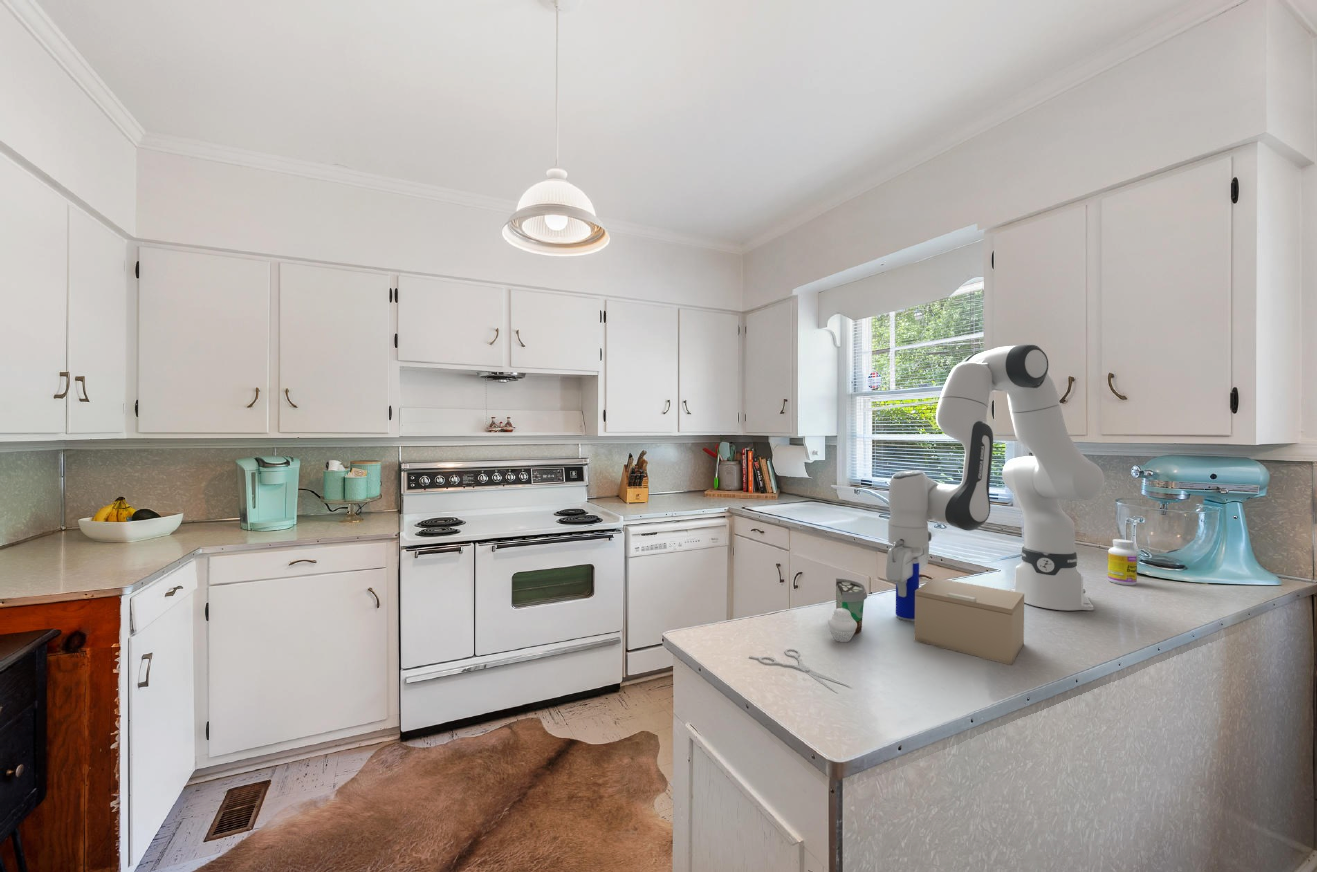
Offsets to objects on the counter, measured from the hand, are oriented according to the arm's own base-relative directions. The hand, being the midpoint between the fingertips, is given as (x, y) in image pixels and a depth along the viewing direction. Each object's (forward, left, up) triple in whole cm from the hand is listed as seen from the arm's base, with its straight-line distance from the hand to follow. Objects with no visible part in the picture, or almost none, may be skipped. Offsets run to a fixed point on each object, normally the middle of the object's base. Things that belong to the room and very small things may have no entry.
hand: (907, 592), depth 133 cm
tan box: (+7, +15, -6) cm, 18 cm away
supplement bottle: (-76, +38, -6) cm, 85 cm away
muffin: (+24, -6, -6) cm, 26 cm away
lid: (+7, +15, +4) cm, 17 cm away
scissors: (+44, -5, -7) cm, 44 cm away
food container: (+16, -7, -6) cm, 19 cm away
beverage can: (0, 0, -6) cm, 6 cm away
